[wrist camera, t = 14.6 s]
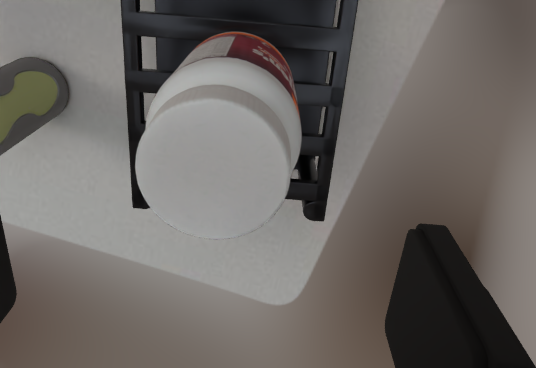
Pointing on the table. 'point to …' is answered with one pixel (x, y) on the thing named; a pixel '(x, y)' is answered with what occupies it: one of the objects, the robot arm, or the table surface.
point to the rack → (276, 33)
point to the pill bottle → (221, 139)
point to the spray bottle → (28, 98)
